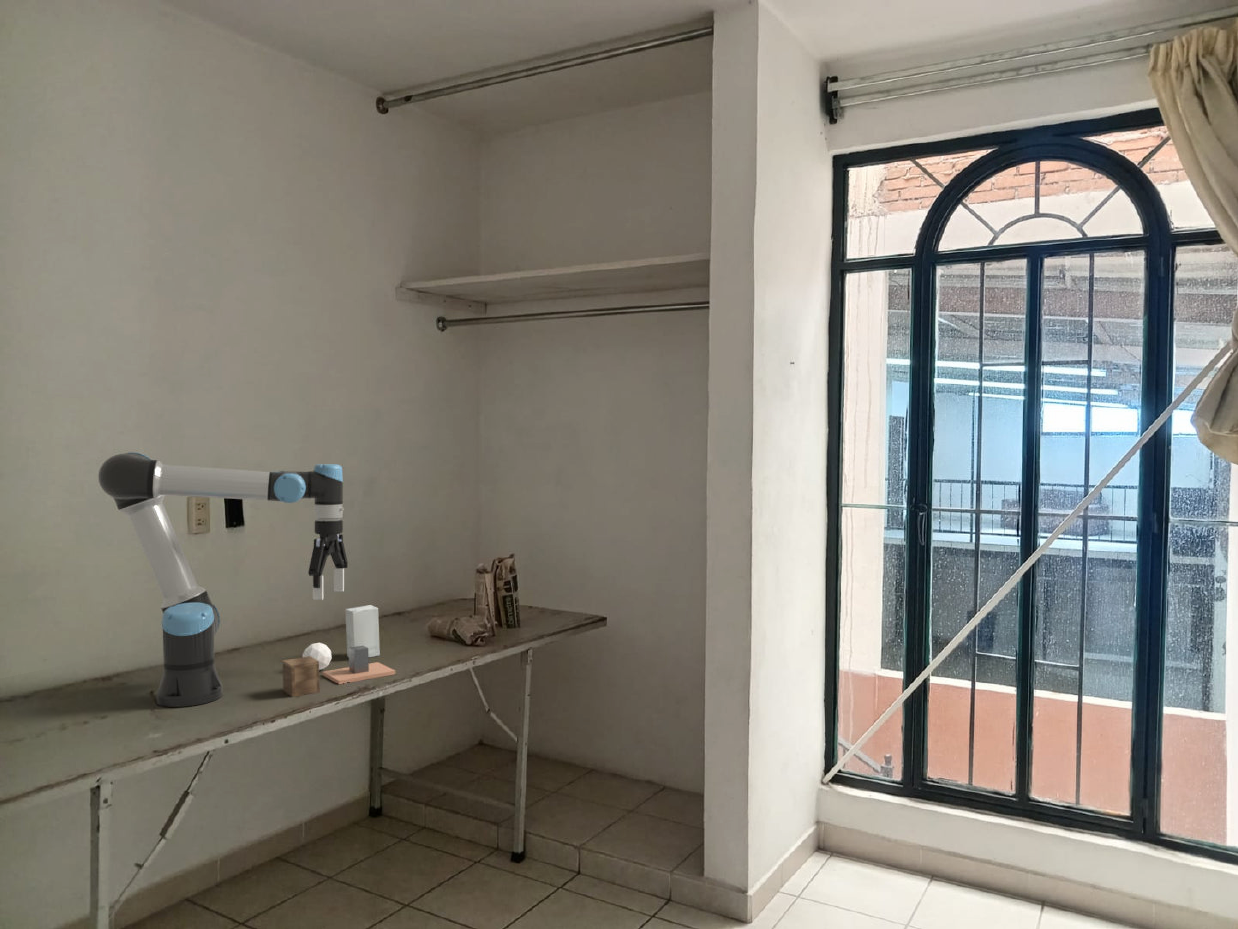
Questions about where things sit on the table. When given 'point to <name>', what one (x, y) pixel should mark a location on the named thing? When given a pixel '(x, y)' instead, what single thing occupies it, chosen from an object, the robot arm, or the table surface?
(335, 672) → the base plate
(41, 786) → the table surface
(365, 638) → the skincare box
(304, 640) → the table surface
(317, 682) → the cardboard carton
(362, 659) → the post
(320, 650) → the ball
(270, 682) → the table surface
